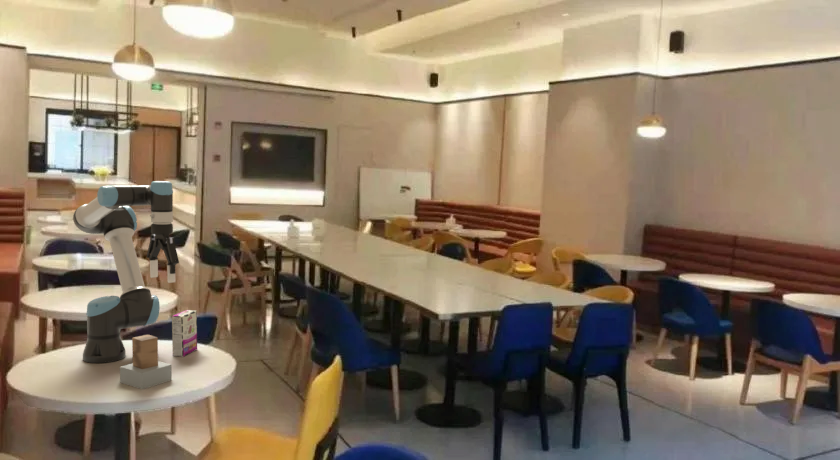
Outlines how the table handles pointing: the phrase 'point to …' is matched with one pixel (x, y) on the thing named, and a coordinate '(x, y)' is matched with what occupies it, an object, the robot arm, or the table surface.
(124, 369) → the slate base block
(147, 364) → the walnut block
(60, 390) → the table surface
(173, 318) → the candy bar box
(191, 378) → the table surface
